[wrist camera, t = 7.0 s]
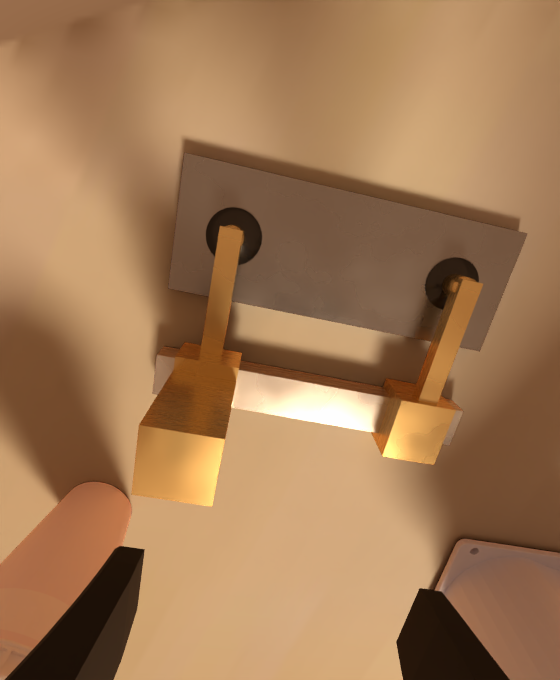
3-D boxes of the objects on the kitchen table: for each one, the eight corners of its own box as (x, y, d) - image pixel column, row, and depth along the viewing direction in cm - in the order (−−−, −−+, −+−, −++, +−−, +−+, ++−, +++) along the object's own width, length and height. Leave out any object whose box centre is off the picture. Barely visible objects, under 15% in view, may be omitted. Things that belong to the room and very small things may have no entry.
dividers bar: (499, 282, 17) (533, 292, 15) (435, 440, 20) (457, 469, 18) (180, 211, 16) (165, 211, 14) (158, 391, 19) (143, 415, 17)
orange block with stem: (265, 231, 16) (262, 241, 10) (229, 418, 19) (208, 520, 12) (204, 218, 16) (161, 219, 9) (177, 409, 18) (129, 509, 12)
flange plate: (518, 232, 17) (528, 233, 16) (473, 347, 18) (480, 351, 18) (187, 154, 15) (183, 152, 15) (171, 286, 17) (167, 288, 16)
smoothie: (145, 457, 20) (-98, 932, 7) (163, 548, 22) (4, 1050, 9) (26, 464, 20) (-456, 959, 7) (55, 555, 22) (-268, 1070, 9)
